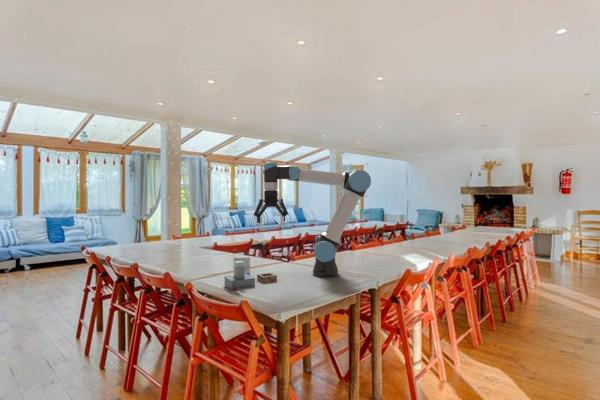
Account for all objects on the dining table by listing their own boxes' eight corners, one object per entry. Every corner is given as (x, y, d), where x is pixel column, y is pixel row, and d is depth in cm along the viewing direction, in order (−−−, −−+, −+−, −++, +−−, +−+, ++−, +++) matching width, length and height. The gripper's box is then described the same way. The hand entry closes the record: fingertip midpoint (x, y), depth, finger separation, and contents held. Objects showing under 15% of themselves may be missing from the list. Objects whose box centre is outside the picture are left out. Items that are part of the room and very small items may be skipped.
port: (246, 282, 187) (246, 273, 187) (254, 287, 177) (254, 277, 177) (224, 285, 181) (224, 275, 181) (232, 291, 171) (232, 280, 171)
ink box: (250, 276, 202) (250, 256, 202) (247, 278, 197) (246, 257, 197) (237, 275, 204) (237, 255, 204) (233, 277, 199) (233, 257, 199)
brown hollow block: (270, 279, 193) (270, 272, 193) (276, 282, 186) (276, 275, 186) (257, 281, 189) (257, 274, 189) (263, 284, 182) (263, 277, 182)
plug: (241, 283, 182) (241, 260, 182) (244, 285, 178) (244, 261, 178) (234, 284, 180) (234, 261, 179) (237, 286, 176) (236, 262, 176)
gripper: (287, 190, 203) (287, 226, 203) (247, 190, 190) (247, 229, 190) (293, 190, 196) (294, 227, 196) (252, 190, 184) (253, 230, 184)
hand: (271, 228), depth 193 cm, fingers open, 13 cm apart
